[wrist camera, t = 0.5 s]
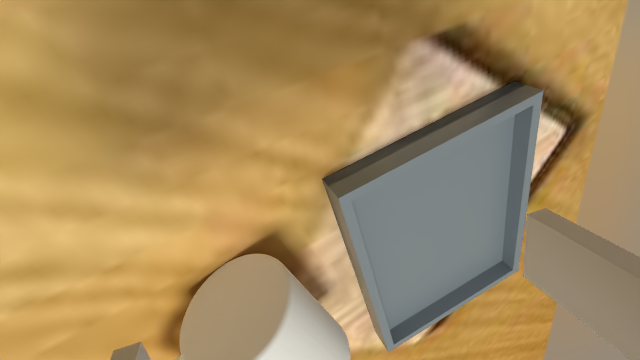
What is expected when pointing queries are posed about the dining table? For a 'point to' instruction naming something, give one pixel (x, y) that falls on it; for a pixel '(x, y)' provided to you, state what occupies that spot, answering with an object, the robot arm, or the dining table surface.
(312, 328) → the mug
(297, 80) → the dining table surface
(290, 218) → the dining table surface
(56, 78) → the dining table surface
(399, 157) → the tray
